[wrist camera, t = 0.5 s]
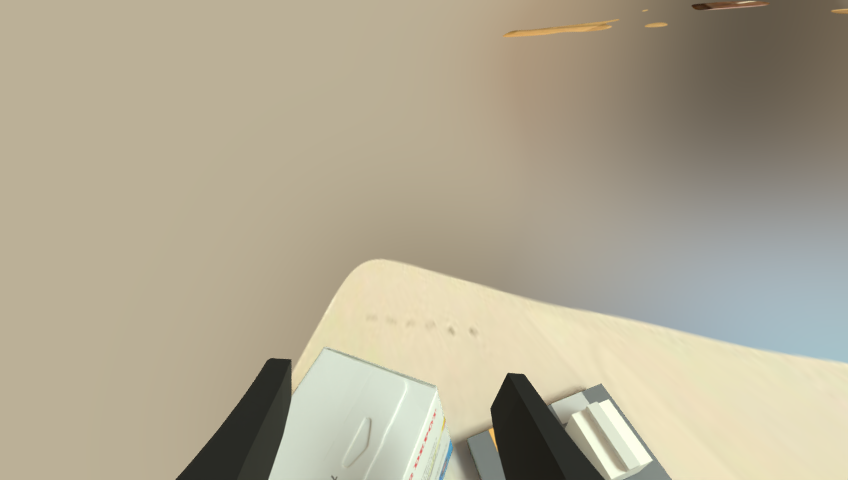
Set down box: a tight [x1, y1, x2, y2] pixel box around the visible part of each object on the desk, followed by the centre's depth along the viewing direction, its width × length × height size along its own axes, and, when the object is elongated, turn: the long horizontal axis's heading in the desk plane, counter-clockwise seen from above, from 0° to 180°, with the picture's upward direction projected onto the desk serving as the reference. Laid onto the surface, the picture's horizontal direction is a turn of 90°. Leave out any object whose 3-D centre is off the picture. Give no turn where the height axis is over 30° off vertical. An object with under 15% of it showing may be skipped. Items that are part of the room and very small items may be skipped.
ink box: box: [268, 347, 453, 480], centre depth 22 cm, size 9×8×12 cm
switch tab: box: [565, 399, 653, 480], centre depth 23 cm, size 4×3×4 cm
